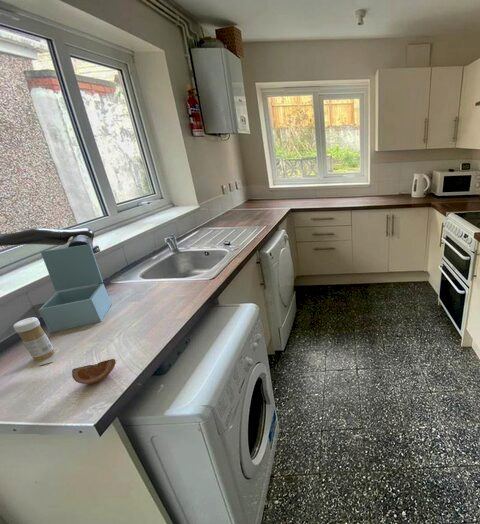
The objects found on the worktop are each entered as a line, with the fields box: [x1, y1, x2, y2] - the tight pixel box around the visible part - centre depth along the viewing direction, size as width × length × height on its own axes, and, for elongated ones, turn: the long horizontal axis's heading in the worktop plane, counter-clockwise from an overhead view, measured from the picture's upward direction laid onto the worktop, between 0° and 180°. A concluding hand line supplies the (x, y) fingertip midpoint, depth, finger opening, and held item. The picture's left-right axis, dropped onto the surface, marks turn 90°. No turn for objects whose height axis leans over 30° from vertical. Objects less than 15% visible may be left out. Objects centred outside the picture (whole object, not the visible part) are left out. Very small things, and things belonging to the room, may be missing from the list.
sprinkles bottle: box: [12, 316, 56, 367], centre depth 79 cm, size 5×5×13 cm
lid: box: [40, 244, 104, 292], centre depth 103 cm, size 14×14×1 cm
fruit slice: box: [71, 358, 117, 385], centre depth 73 cm, size 8×7×5 cm
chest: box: [37, 283, 112, 334], centre depth 101 cm, size 14×14×9 cm
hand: (78, 257), depth 108 cm, fingers closed
